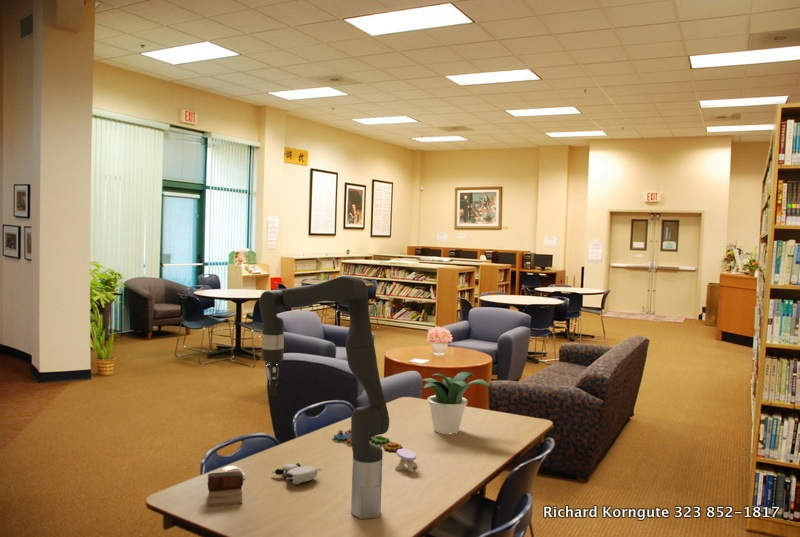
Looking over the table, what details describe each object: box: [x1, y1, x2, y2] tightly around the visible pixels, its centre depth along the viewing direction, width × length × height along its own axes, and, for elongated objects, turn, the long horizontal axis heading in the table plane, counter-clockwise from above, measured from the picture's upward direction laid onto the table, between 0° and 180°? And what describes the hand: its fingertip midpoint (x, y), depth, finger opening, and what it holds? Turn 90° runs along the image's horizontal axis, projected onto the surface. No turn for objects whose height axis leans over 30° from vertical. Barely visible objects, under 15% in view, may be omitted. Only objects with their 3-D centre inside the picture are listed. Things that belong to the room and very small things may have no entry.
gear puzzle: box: [331, 428, 404, 452], centre depth 253 cm, size 31×16×4 cm, turn 55°
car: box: [218, 465, 247, 480], centre depth 209 cm, size 12×6×5 cm, turn 133°
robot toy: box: [271, 462, 323, 485], centre depth 213 cm, size 12×4×15 cm
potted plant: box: [421, 371, 491, 435], centre depth 273 cm, size 32×35×26 cm
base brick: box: [207, 487, 243, 507], centre depth 194 cm, size 9×10×4 cm
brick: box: [207, 471, 244, 492], centre depth 194 cm, size 11×4×5 cm, turn 111°
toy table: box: [394, 448, 418, 473], centre depth 227 cm, size 10×9×6 cm
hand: (271, 392), depth 213 cm, fingers open, 8 cm apart
